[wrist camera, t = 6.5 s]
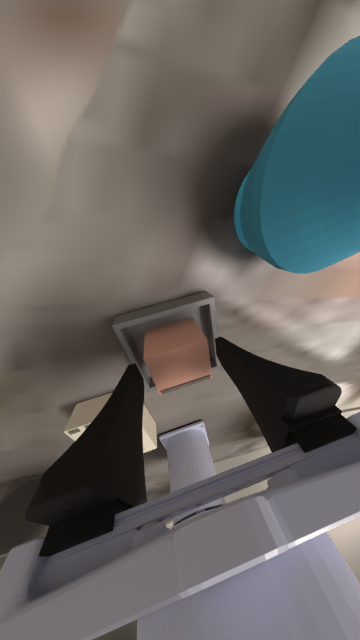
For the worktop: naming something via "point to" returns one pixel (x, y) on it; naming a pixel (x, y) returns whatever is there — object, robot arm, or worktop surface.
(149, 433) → the block
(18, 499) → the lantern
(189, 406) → the worktop surface
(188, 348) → the stub
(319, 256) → the perfume bottle
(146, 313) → the tray
